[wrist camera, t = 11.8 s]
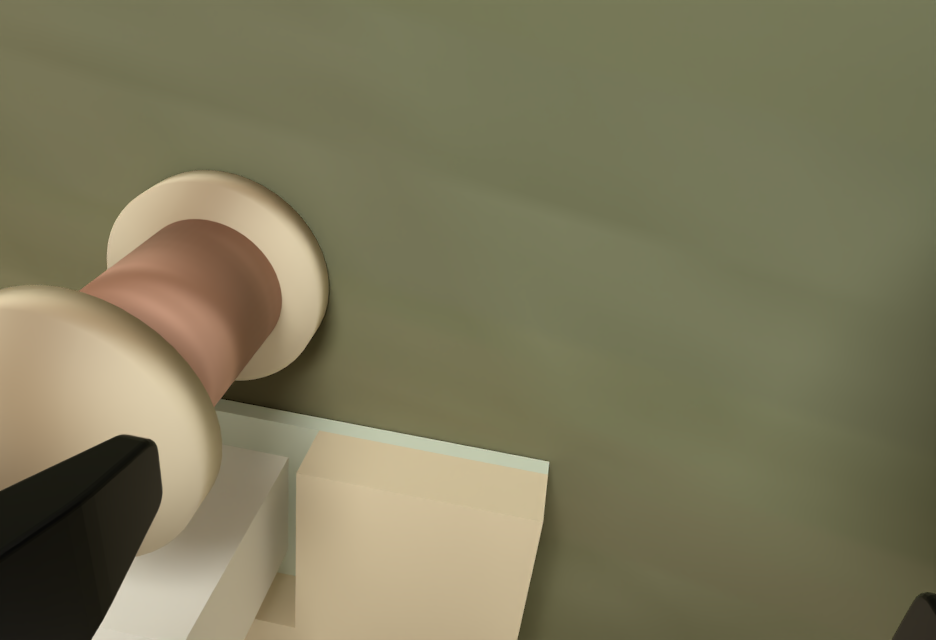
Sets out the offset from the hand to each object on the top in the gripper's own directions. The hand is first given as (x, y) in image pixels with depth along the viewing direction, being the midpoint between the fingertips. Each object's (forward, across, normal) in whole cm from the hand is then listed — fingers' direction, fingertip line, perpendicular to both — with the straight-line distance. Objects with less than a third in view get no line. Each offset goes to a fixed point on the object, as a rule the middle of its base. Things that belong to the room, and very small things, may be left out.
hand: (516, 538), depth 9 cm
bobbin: (+12, +9, +4) cm, 15 cm away
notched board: (+12, +9, +13) cm, 20 cm away
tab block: (+11, +9, +12) cm, 19 cm away
